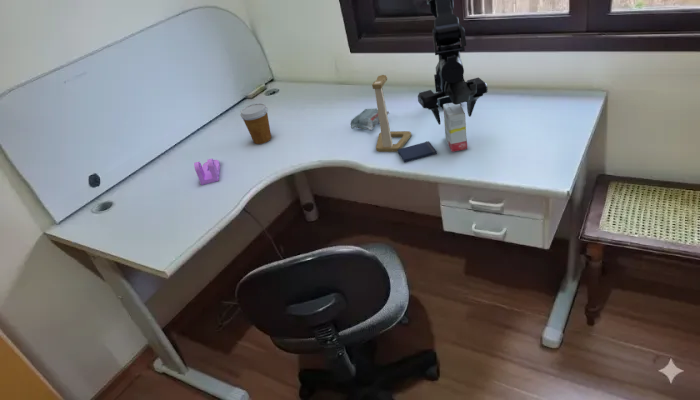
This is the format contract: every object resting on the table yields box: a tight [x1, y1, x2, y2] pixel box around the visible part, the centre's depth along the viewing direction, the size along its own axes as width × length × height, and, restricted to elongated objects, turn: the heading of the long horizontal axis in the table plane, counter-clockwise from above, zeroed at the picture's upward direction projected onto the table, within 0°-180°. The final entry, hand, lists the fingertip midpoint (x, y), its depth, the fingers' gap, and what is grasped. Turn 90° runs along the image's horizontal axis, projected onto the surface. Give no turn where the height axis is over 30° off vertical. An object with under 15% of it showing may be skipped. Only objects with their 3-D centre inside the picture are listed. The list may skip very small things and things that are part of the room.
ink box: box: [442, 103, 468, 153], centre depth 151 cm, size 9×5×12 cm, turn 3°
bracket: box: [193, 158, 221, 186], centre depth 166 cm, size 13×6×7 cm, turn 9°
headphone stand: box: [371, 74, 412, 153], centre depth 156 cm, size 10×11×22 cm
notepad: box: [397, 140, 438, 163], centre depth 154 cm, size 10×7×1 cm
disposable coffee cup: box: [239, 102, 272, 145], centre depth 179 cm, size 10×10×12 cm
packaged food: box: [350, 107, 390, 131], centre depth 174 cm, size 9×12×5 cm
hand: (454, 120), depth 150 cm, fingers open, 9 cm apart
